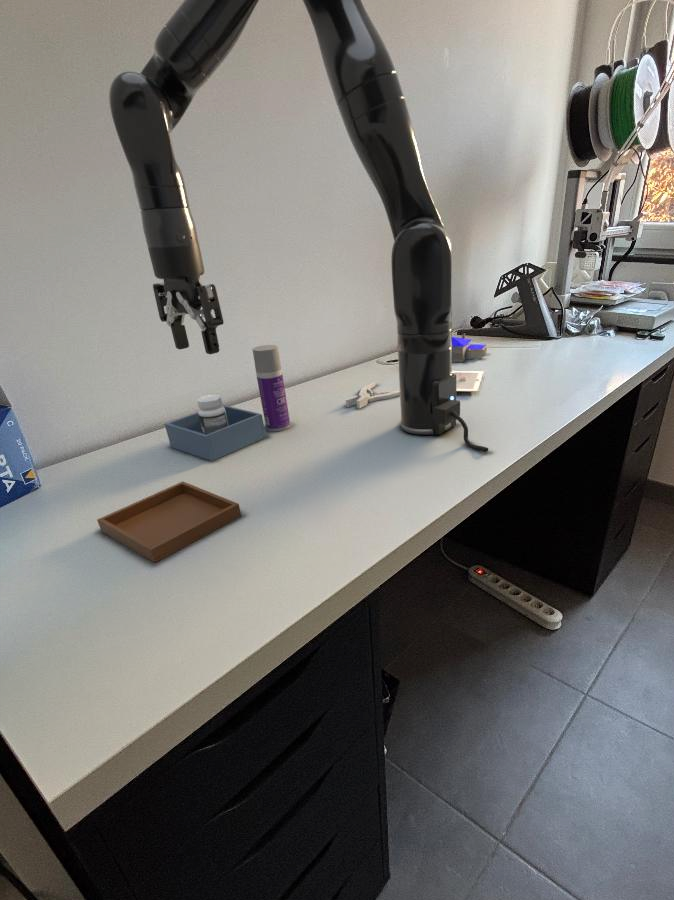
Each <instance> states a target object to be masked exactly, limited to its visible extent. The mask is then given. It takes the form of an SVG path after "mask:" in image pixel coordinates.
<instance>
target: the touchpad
mask: <svg viewBox="0 0 674 900" xmlns="http://www.w3.org/2000/svg"><path fill="white" fill-rule="evenodd" d="M452 373H455V374H456V376H457V379H456V392H479V387H480V386H481V385H480V384H481V381H482V379H483V375H484V371H481V370H478V371H477V370H476V371H474V370H452Z"/></svg>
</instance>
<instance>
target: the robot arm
mask: <svg viewBox="0 0 674 900" xmlns="http://www.w3.org/2000/svg"><path fill="white" fill-rule="evenodd" d="M259 1H260V0H183V1H182V2H181V3H180V5H178V7H177V8H176V10H175V11H174V13H173V14H172V15H171V16H170V17H169V19H168V20H167V21H166V23H165V24H164V26H163V27H161V29H160V30H159V32H158V34H157V36H156V38H155V40H154V43H153V54H152V55H151V56H150V58H149V60H148V61H147V63H146V64H145V65H144V67H143V68H142V70H141V71H140V72H137V71H130V70H129V71H123V72H120V73H119V74H117V75H116V76H115V77H114V79H113V80H112V82H111V83H110V86H109V92H108V102H109V109H110V114H111V118H112V121H113V125H114V128H115V131H116V134H117V137H118V140H119V142H120V145H121V148H122V150H123V153H124V156H125V158H126V161H127V164H128V166H129V169H130V172H131V176H132V182H133V186H134V191H135V195H136V199H137V203H138V207H139V210H140V217H141V223H142V230H143V234H144V238H145V242H146V246H147V250H148V254H149V259H150V262H151V266H152V270H153V275H154V277H155V278H157V279H158V280H163V282H158V283H153V284H152V290H153V293H154V294H153V295H154V298H155V303H156V308H157V312H158V317H159V319H160V321H161V322H162V323H164V322H165V323H166V325H167V326H168V327H169V328H170V330H171V334H172V338H173V342H174V347H175V348H176V349H177V350H184V349H188V348H189V347H190V342H189V338H188V334H187V330H186V326H185V324H183V323H184V322H185V317H186V315H189V317H190V318H191V319H192V320H193V321H195V322H196V323H197V325H198V327H199V329H201V330H200V332H201V336H202V338H201V339H202V342H203V347H204V350H205V354H207V355H214V354H218V353H219V352H220V344H219V339H218V335H217V328H218V327H219V326H222V325H224V323H225V322H224V321H225V320H224V317H223V312H222V308H221V305H220V299H219V296H218V290H217V288H216V287H217V286H216V285H215V284H214V283H209V284H204V285H203V284H202V282H201V279H200V277H201V276H203V275H204V274H205V267H204V261H203V257H202V251H201V247H200V243H199V237H198V232H197V228H196V222H195V220H194V217H193V213H192V210H191V208H190V202H189V197H188V193H187V188H186V184H185V178H184V176H183V173H182V170H181V168H180V166H179V164H178V162H177V160H176V158H175V157H176V156H175V152H174V148H173V143H172V138H171V133H172V132H173V131H174V130H175V128H176V127H177V125H178V124H179V123H180V121H181V120H182V119H183V116H184V115H185V114H186V112H187V110H188V109H189V108H190V105H191V103H192V102H193V100H194V98H195V97H196V95H197V93H198V92H199V90H201V89H202V87H203V86H205V84H206V83H207V82H208V81H209V80H210V78H211V77H212V76H213V75H214V74H215V72H217V70H218V69H219V67H220V66H221V65H222V64H223V62H224V61H225V60H226V58H227V57H229V55H230V53H231V52H232V51H233V49H234V47H235V46H236V44H237V43H238V42H239V39H240V38H241V36H242V34H243V32H244V31H245V28H246V26H247V24H248V22H249V21H250V19H251V17H252V15H253V13H254V11H255V8H256V7H257V6H258V3H259ZM302 2H303V4H304V6H305V9H306V12H307V14H308V16H309V19H310V21H311V24H312V28H313V30H314V33H315V36H316V39H317V43H318V48H319V51H320V55H321V59H322V63H323V65H324V69H325V72H326V75H327V79H328V82H329V86H330V88H331V91H332V93H333V94H332V95H333V96H334V100H335V103H336V106H337V109H338V112H339V115H340V118H341V120H342V122H343V125H344V127H345V130H346V131H345V132H346V133H347V136H348V138H349V141H350V143H351V146H352V147H353V149H354V151H355V153H356V155H357V157H358V159H359V162H360V163H361V165H362V167H363V168H364V170H365V173H366V174H367V175H368V177H369V178H370V179H369V180H370V181H371V183H372V184H373V186H374V188H375V190H376V191H377V194H378V197H380V200H381V203H382V205H383V208H384V211H385V214H386V216H387V220H388V223H389V227H390V230H391V235H392V238H393V245H392V249H391V257H390V258H391V260H390V261H391V263H390V265H391V280H392V281H391V283H392V295H393V296H392V297H393V311H394V312H393V313H394V316H395V320H396V321H395V322H396V334H397V335H396V338H397V359H398V361H397V362H398V383H399V390H400V395H399V403H400V428H401V429H402V431H404V432H406V433H408V434H412V435H420V436H427V435H428V436H429V435H433V436H440V435H442V434H443V433H445V432H447V431H449V430H450V429H452V428H454V427H455V426H457V421H458V423H460V425H461V426H462V429H463V441H464V443H465V445H466V446H467V447H469V448H470V449H473V450H475V451H481V452H485V453H487V452H488V451H489V447H486V446H482V445H476V444H473V443H472V442H471V441H470V440H469V428H468V425H467V423H466V422H465V420H464V419H463V418H462V417H461V401H460V400H457V391H456V379H457V376H456V374H455V373H452V371H453V369H452V368H453V362H452V337H453V306H452V304H453V303H452V302H453V301H452V270H453V269H452V267H453V266H452V265H453V264H452V262H453V244H452V239H451V237H450V235H449V233H448V231H447V229H446V227H445V224H444V223H443V220H442V219H441V216H440V214H439V212H438V209H437V207H436V205H435V202H434V199H433V197H432V195H431V192H430V190H429V187H428V184H427V181H426V178H425V175H424V171H423V166H422V162H421V156H420V152H419V147H418V143H417V139H416V136H415V132H414V127H413V124H412V120H411V117H410V116H411V115H410V113H409V107H408V105H407V101H406V98H405V95H404V92H403V89H402V86H401V83H400V79H399V77H398V73H397V69H396V67H395V65H394V62H393V60H392V58H391V55H390V52H389V50H388V48H387V47H386V44H385V43H384V41H383V38H382V37H381V35H380V33H379V31H378V29H377V27H376V26H375V24H374V22H373V21H372V19H371V17H370V15H369V14H368V12H367V10H366V7H365V6H364V3H363V1H362V0H302ZM212 312H213V313H214V316H213V314H212Z"/></svg>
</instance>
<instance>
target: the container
mask: <svg viewBox="0 0 674 900" xmlns="http://www.w3.org/2000/svg"><path fill="white" fill-rule="evenodd" d="M252 354H253V363H254V368H255V375H256V380H257V381H256V382H257V386H258V393H259V396H260V403H261V408H262V415H263V421H264V426H265V430H267V431H269V432H282V431H285V430H287V429H289V428H290V427H291V421H290V414H289V408H288V407H289V406H288V401H287V395H286V389H285V381H284V374H283V369H282V365H281V359H280V352H279V348H278V345H275V344H264V345H258V346H255V347H253V348H252Z"/></svg>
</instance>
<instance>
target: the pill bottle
mask: <svg viewBox="0 0 674 900" xmlns="http://www.w3.org/2000/svg"><path fill="white" fill-rule="evenodd" d="M222 405H223V401H222V396H221V395H219V394H208V395H203V396H200V397H198V398H197V406H198V411H197V412H198V415H199V419H200V423H201V427H202V431H203V434H206V435H207V434H210V433H212V432H215V431H217V430H220V429H222V428H225V427H227V426H229V424H228V419H227V415H226V410H225V408H224V406H222Z"/></svg>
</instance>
